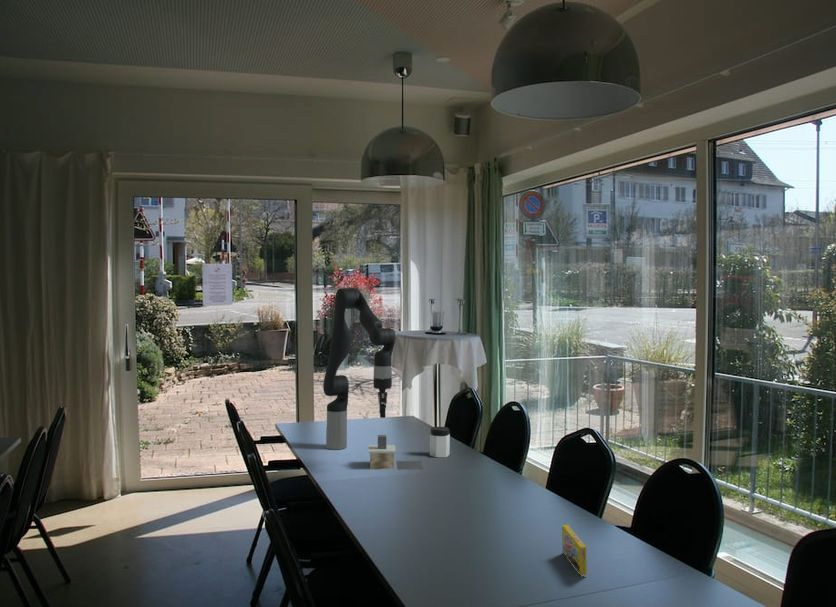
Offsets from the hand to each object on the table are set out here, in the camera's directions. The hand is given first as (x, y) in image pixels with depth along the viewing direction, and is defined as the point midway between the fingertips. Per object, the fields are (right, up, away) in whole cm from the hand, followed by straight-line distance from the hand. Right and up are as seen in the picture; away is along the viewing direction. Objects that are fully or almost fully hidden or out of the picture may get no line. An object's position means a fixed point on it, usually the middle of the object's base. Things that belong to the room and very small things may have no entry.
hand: (382, 415), depth 287 cm
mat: (+11, -21, +2) cm, 24 cm away
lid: (0, -15, 0) cm, 15 cm away
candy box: (+57, -25, -97) cm, 116 cm away
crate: (0, -21, +1) cm, 21 cm away
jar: (+24, -21, +21) cm, 38 cm away
